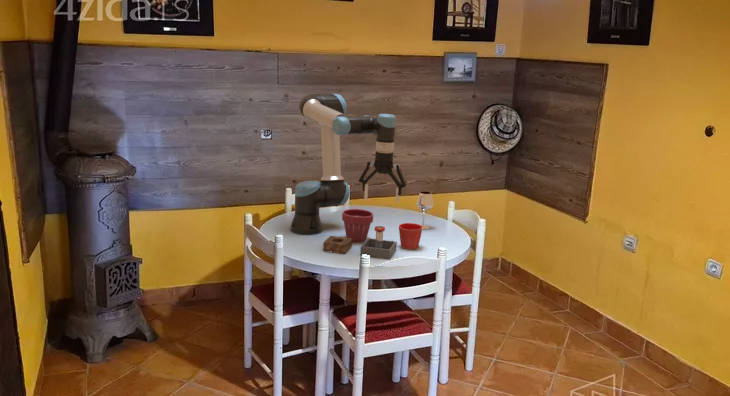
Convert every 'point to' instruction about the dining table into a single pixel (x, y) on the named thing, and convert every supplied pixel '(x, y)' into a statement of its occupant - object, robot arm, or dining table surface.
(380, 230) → the lock pin
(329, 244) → the pin block
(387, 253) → the tray
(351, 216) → the plant pot
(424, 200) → the wineglass
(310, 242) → the dining table surface
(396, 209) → the dining table surface
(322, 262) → the dining table surface
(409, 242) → the flower pot
